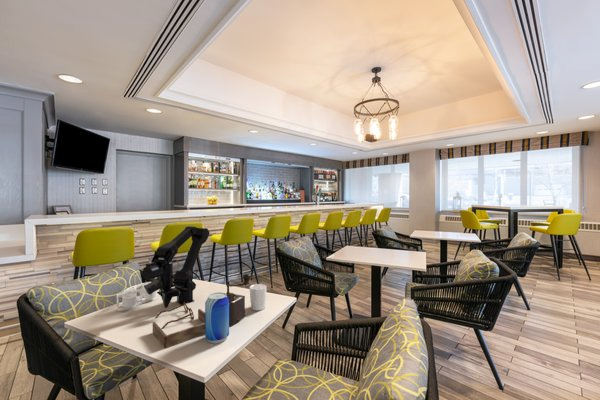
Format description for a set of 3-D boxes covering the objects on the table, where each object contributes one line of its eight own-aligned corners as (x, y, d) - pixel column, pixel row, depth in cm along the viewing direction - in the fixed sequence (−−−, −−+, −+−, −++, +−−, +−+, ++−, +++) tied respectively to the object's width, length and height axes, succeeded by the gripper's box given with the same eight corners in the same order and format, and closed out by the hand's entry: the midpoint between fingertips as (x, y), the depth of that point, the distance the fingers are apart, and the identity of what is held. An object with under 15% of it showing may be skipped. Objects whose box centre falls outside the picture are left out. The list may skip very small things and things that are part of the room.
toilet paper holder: (123, 313, 123) (123, 296, 123) (108, 308, 127) (108, 293, 127) (162, 298, 141) (162, 284, 141) (148, 294, 145) (148, 281, 145)
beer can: (216, 347, 94) (215, 301, 94) (200, 340, 99) (200, 296, 99) (233, 336, 101) (233, 294, 101) (218, 330, 106) (218, 290, 106)
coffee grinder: (231, 327, 108) (231, 283, 108) (210, 322, 113) (210, 279, 113) (253, 312, 123) (253, 273, 123) (233, 308, 127) (233, 270, 127)
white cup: (246, 309, 126) (246, 288, 126) (255, 303, 133) (255, 283, 133) (261, 312, 123) (261, 290, 123) (269, 305, 130) (269, 285, 130)
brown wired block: (199, 318, 117) (199, 308, 117) (215, 330, 106) (215, 320, 106) (152, 332, 104) (152, 322, 104) (164, 348, 94) (164, 336, 94)
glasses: (194, 321, 115) (194, 309, 115) (160, 330, 107) (160, 318, 107) (185, 311, 125) (185, 300, 125) (154, 319, 117) (154, 307, 117)
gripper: (140, 272, 126) (141, 306, 126) (152, 282, 112) (152, 319, 112) (166, 268, 133) (166, 300, 133) (180, 276, 120) (180, 311, 120)
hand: (166, 307), depth 125 cm, fingers closed
